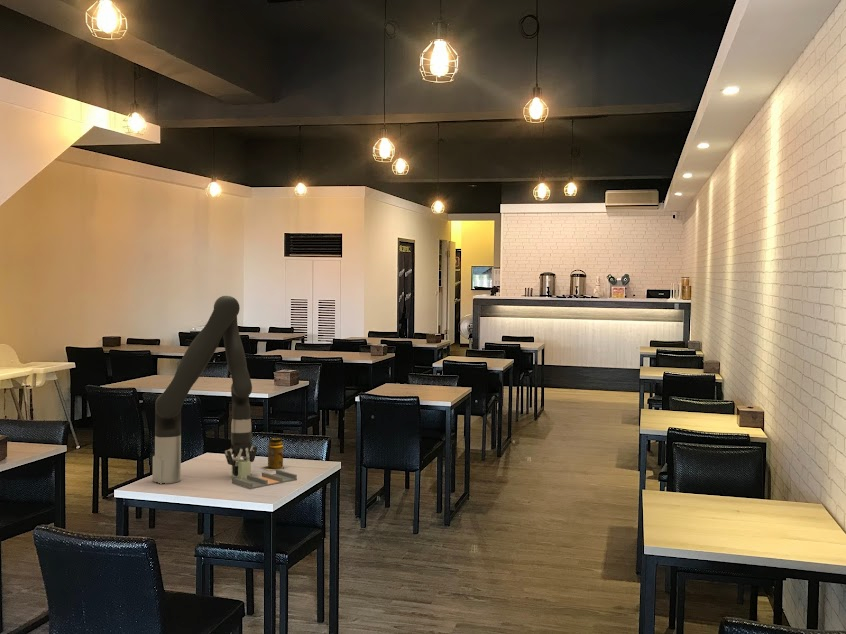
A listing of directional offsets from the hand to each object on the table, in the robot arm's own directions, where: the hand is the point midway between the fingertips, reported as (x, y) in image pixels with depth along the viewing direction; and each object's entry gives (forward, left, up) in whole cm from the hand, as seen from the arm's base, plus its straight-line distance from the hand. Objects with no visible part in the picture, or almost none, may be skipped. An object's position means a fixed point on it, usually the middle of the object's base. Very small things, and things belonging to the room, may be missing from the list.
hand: (240, 474), depth 297 cm
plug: (0, 0, -1) cm, 1 cm away
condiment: (+18, +4, -1) cm, 18 cm away
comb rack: (+2, -13, -1) cm, 13 cm away
